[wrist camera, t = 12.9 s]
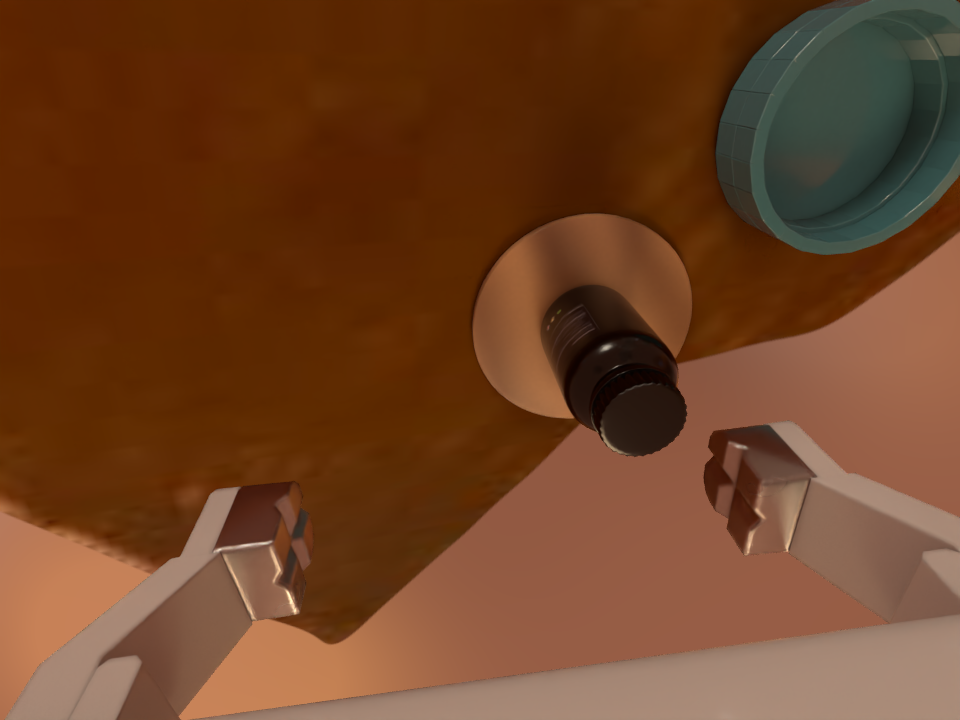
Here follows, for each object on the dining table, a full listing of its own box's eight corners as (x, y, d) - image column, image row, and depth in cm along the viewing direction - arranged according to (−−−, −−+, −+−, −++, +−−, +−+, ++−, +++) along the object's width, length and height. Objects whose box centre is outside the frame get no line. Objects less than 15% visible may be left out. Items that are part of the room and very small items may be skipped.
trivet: (631, 163, 34) (634, 164, 34) (720, 343, 42) (724, 347, 41) (427, 300, 38) (427, 304, 37) (542, 446, 45) (544, 451, 44)
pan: (903, -58, 30) (975, -75, 26) (944, 157, 36) (1007, 169, 32) (680, 95, 33) (716, 101, 29) (753, 270, 39) (791, 294, 35)
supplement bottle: (650, 305, 39) (735, 397, 28) (596, 379, 41) (656, 488, 31) (571, 264, 37) (631, 346, 26) (519, 345, 39) (556, 449, 29)
